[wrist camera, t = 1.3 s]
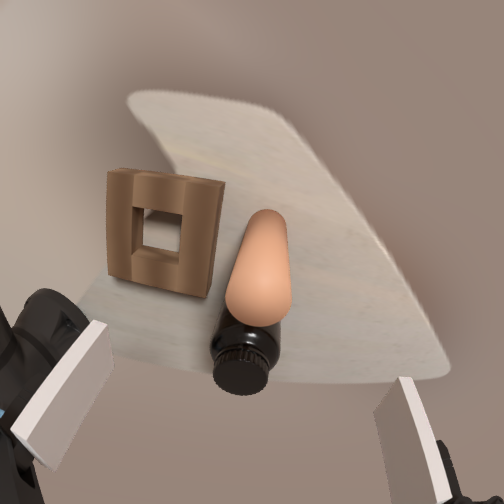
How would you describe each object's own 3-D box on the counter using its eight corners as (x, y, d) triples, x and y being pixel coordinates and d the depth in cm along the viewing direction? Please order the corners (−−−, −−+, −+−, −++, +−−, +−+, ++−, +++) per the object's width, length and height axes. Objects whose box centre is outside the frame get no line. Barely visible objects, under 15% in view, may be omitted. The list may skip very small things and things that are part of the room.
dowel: (244, 241, 31) (221, 319, 18) (251, 205, 29) (230, 264, 17) (281, 249, 31) (283, 331, 18) (289, 213, 29) (298, 277, 17)
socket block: (119, 264, 34) (108, 274, 31) (121, 167, 29) (107, 171, 26) (211, 284, 33) (205, 298, 31) (225, 182, 29) (219, 187, 26)
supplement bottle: (291, 314, 34) (294, 390, 23) (243, 335, 36) (230, 410, 25) (261, 270, 32) (252, 340, 21) (212, 295, 34) (184, 366, 23)
